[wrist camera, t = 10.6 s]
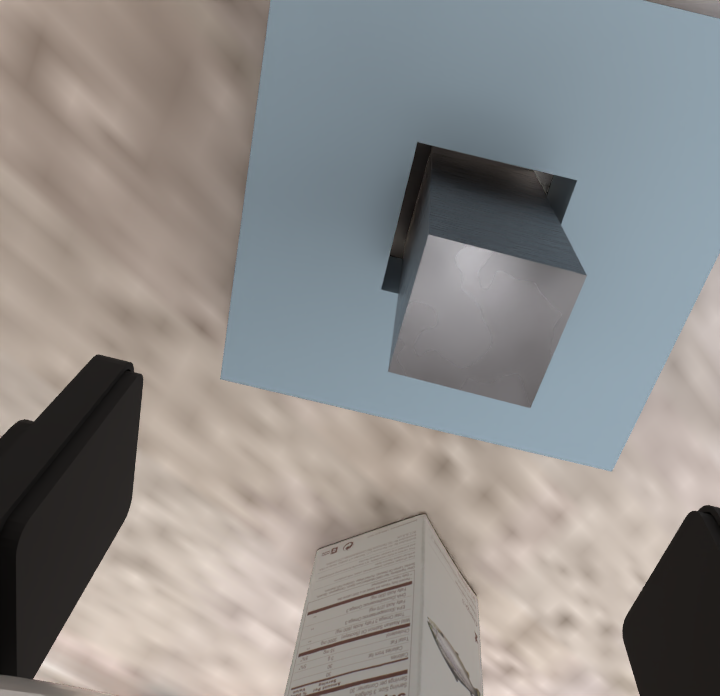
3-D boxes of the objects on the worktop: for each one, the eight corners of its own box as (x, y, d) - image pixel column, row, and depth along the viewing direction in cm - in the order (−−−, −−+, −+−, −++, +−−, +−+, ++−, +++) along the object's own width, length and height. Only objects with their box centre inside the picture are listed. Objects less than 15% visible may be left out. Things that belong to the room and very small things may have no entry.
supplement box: (481, 597, 41) (496, 826, 30) (370, 628, 43) (346, 853, 32) (427, 507, 38) (422, 722, 27) (312, 546, 40) (264, 760, 29)
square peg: (499, 265, 31) (530, 408, 21) (405, 240, 31) (387, 371, 20) (533, 170, 29) (586, 275, 18) (432, 144, 29) (428, 234, 18)
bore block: (594, 421, 34) (611, 471, 31) (242, 338, 34) (220, 379, 31) (770, 35, 26) (822, 43, 22) (303, -78, 26) (282, -87, 22)
